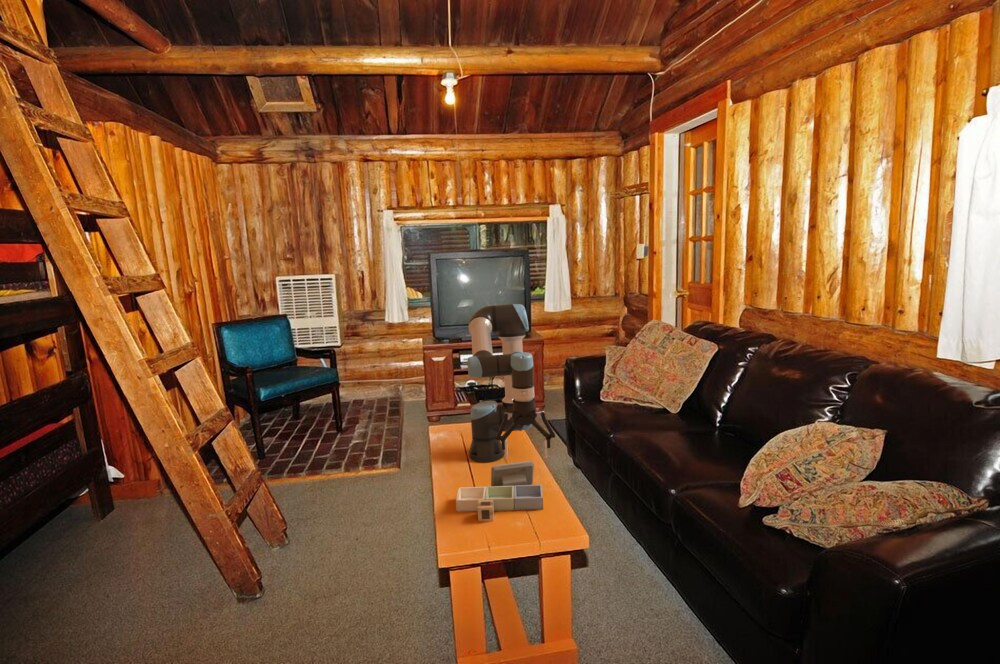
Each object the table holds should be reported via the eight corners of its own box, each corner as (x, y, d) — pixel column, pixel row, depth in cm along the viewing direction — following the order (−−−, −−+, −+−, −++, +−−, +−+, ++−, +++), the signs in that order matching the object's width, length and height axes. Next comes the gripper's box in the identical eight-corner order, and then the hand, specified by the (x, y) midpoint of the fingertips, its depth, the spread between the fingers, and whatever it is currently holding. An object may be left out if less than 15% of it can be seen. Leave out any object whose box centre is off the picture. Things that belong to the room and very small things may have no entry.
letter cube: (479, 514, 180) (478, 500, 179) (494, 513, 179) (493, 499, 179) (478, 521, 175) (477, 507, 174) (493, 521, 174) (492, 507, 174)
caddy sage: (487, 497, 191) (486, 486, 190) (514, 496, 190) (513, 485, 190) (485, 511, 181) (484, 499, 180) (514, 510, 181) (513, 498, 180)
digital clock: (534, 483, 200) (533, 456, 198) (535, 494, 191) (534, 466, 190) (491, 485, 201) (490, 458, 199) (491, 496, 192) (489, 468, 190)
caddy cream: (459, 498, 191) (459, 487, 190) (486, 497, 191) (486, 486, 190) (456, 512, 182) (455, 500, 181) (485, 511, 181) (484, 499, 180)
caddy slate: (515, 496, 190) (514, 485, 190) (542, 495, 190) (541, 484, 189) (514, 510, 181) (514, 498, 180) (543, 509, 180) (542, 497, 180)
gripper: (486, 403, 176) (490, 463, 179) (561, 400, 175) (563, 460, 178) (487, 396, 183) (491, 454, 187) (559, 393, 182) (561, 451, 186)
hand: (526, 457), depth 182 cm, fingers open, 13 cm apart
